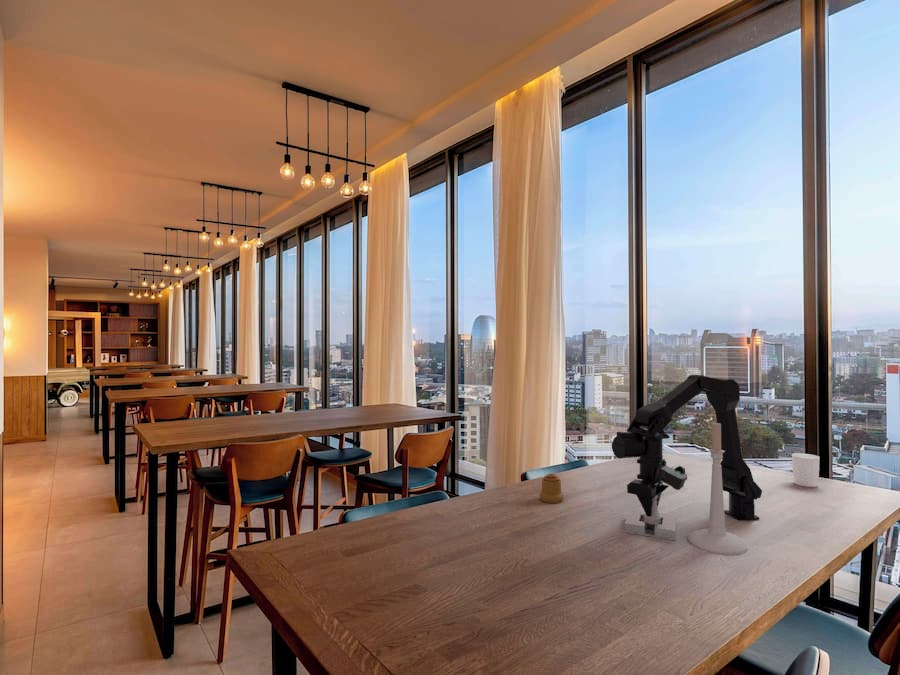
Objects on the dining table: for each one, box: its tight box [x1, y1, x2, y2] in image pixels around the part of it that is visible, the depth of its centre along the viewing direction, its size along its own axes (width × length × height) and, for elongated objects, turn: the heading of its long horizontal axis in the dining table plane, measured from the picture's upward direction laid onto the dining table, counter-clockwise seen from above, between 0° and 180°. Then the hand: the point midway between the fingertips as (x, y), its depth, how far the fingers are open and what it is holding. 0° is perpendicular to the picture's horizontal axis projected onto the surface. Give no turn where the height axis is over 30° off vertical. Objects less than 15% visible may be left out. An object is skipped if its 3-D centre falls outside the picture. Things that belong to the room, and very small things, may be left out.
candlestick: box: [687, 421, 749, 556], centre depth 120 cm, size 13×13×30 cm
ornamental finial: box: [539, 473, 565, 504], centre depth 153 cm, size 8×8×8 cm
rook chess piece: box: [643, 495, 661, 525], centre depth 130 cm, size 4×4×8 cm
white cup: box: [791, 452, 820, 488], centre depth 170 cm, size 8×8×10 cm
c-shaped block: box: [624, 508, 678, 541], centre depth 130 cm, size 12×12×2 cm
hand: (651, 514), depth 130 cm, fingers closed on rook chess piece, 3 cm apart
